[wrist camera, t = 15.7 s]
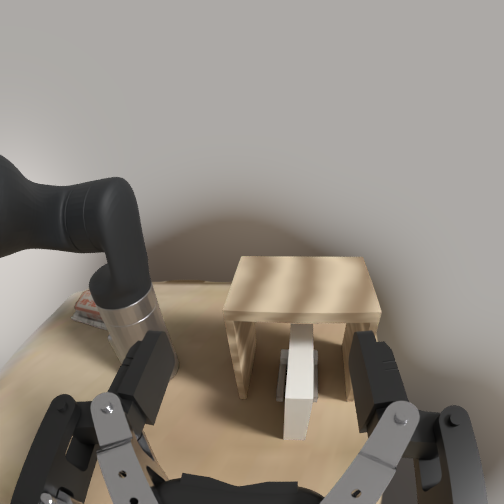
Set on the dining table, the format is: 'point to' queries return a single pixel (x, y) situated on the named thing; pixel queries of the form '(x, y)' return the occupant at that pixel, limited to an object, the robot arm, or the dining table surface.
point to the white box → (299, 382)
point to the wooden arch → (297, 306)
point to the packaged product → (88, 311)
